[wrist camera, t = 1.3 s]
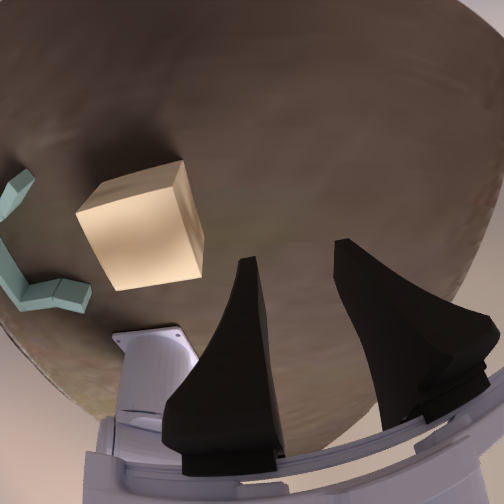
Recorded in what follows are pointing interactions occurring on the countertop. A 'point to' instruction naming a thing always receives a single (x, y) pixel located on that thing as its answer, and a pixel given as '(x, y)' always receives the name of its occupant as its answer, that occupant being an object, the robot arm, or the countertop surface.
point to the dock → (12, 280)
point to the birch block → (145, 227)
